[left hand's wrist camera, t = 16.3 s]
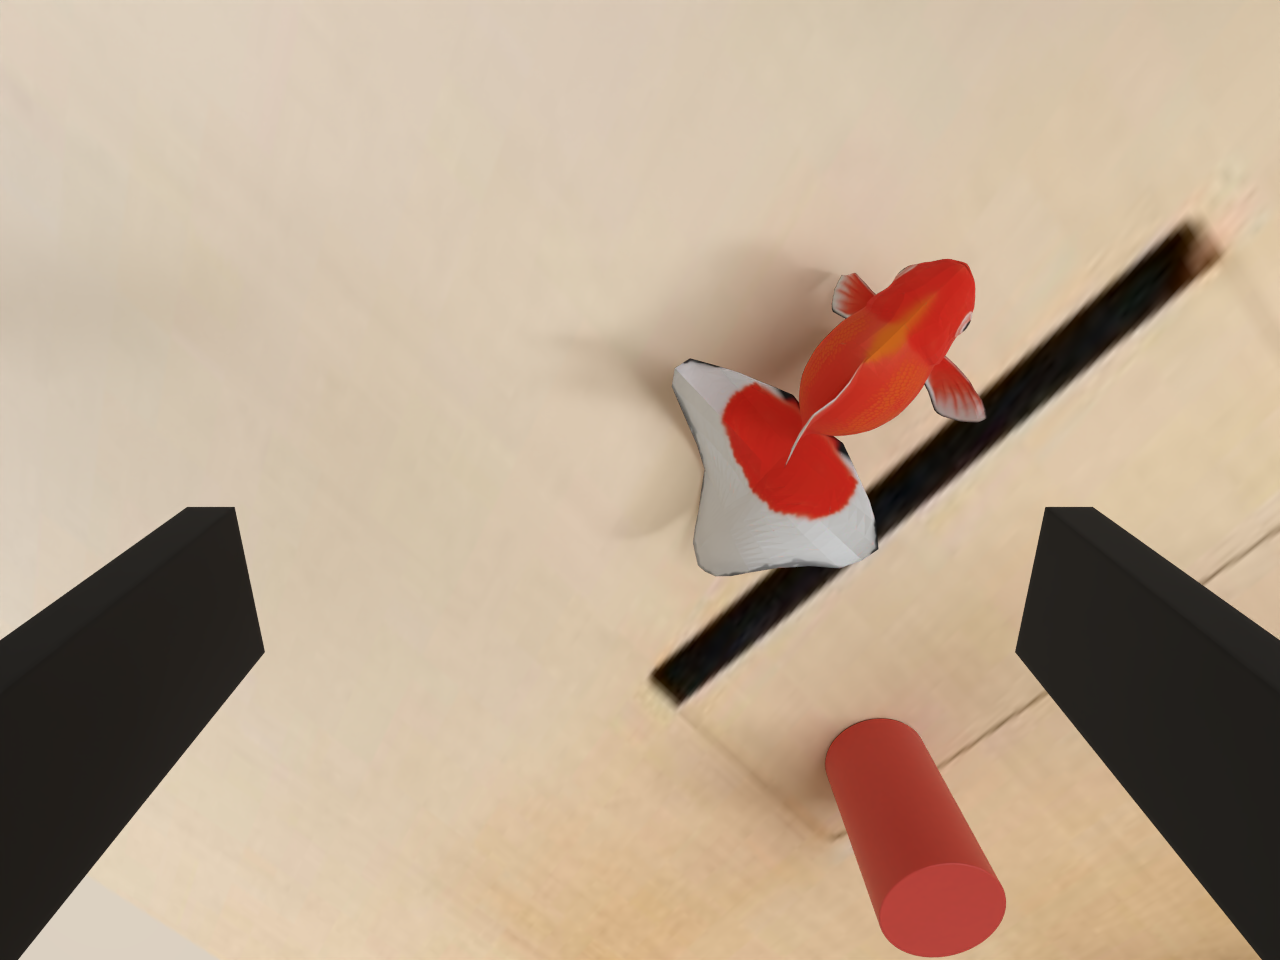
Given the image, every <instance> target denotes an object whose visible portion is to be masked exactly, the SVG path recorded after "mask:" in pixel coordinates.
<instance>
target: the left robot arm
mask: <svg viewBox="0 0 1280 960" xmlns="http://www.w3.org/2000/svg"><path fill="white" fill-rule="evenodd" d="M264 652H265V651H264V646H263V641H262V636H261V632H260V627H259V622H258V617H257V612H256V608H255V603H254V598H253V593H252V588H251V584H250V579H249V574H248V569H247V564H246V560H245V555H244V550H243V545H242V540H241V536H240V531H239V526H238V521H237V516H236V512H235V507H187V508H185V509H184V510H182V511H181V512H180V513H178V514H177V515H175V516H174V517H173V518H171V519H170V520H168V521H167V522H166V523H164V524H163V525H161V526H160V527H159V528H157V529H156V530H154V531H153V532H152V533H150V534H149V535H147V536H146V537H145V538H143V539H142V540H140V541H139V542H138V543H136V544H135V545H133V546H132V547H131V548H129V549H128V550H126V551H125V552H124V553H122V554H121V555H119V556H118V557H116V558H115V559H114V560H112V561H111V562H109V563H108V564H107V565H105V566H104V567H102V568H101V569H100V570H98V571H97V572H95V573H94V574H93V575H91V576H90V577H88V578H87V579H86V580H84V581H83V582H81V583H80V584H79V585H77V586H76V587H74V588H73V589H72V590H70V591H69V592H67V593H66V594H65V595H63V596H62V597H60V598H59V599H58V600H56V601H55V602H53V603H52V604H51V605H49V606H48V607H46V608H45V609H44V610H42V611H41V612H39V613H38V614H37V615H35V616H34V617H32V618H31V619H30V620H28V621H27V622H25V623H24V624H22V625H21V626H20V627H18V628H17V629H15V630H14V631H13V632H11V633H10V634H8V635H7V636H6V637H4V638H3V639H1V640H0V960H18V959H19V958H20V957H21V955H22V954H23V953H24V952H25V950H26V949H27V948H28V947H29V945H30V944H31V943H32V942H33V940H34V939H35V938H36V937H37V935H38V934H39V933H40V932H41V930H42V929H43V928H44V927H45V925H46V924H47V923H48V922H49V920H50V919H51V918H52V917H53V915H54V914H55V913H56V912H57V910H58V909H59V908H60V907H61V905H62V904H63V903H64V902H65V900H66V899H67V898H68V897H69V895H70V894H71V893H72V892H73V890H74V889H75V888H76V887H77V885H78V884H79V883H80V882H81V880H82V879H83V878H84V877H85V876H86V874H87V873H88V872H89V871H90V869H91V868H92V867H93V866H94V864H95V863H96V862H97V861H98V859H99V858H100V857H101V856H102V854H103V853H104V852H105V851H106V849H107V848H108V847H109V846H110V844H111V843H112V842H113V841H114V839H115V838H116V837H117V836H118V834H119V833H120V832H121V831H122V829H123V828H124V827H125V826H126V824H127V823H128V822H129V821H130V819H131V818H132V817H133V816H134V814H135V813H136V812H137V811H138V809H139V808H140V807H141V806H142V804H143V803H144V802H145V801H146V799H147V798H148V797H149V796H150V795H151V793H152V792H153V791H154V790H155V788H156V787H157V786H158V785H159V783H160V782H161V781H162V780H163V778H164V777H165V776H166V775H167V773H168V772H169V771H170V770H171V768H172V767H173V766H174V765H175V763H176V762H177V761H178V760H179V758H180V757H181V756H182V755H183V753H184V752H185V751H186V750H187V748H188V747H189V746H190V745H191V743H192V742H193V741H194V740H195V738H196V737H197V736H198V735H199V733H200V732H201V731H202V730H203V728H204V727H205V726H206V725H207V723H208V722H209V721H210V720H211V718H212V717H213V716H214V715H215V713H216V712H217V711H218V710H219V709H220V707H221V706H222V705H223V704H224V702H225V701H226V700H227V699H228V697H229V696H230V695H231V694H232V692H233V691H234V690H235V689H236V687H237V686H238V685H239V684H240V682H241V681H242V680H243V679H244V677H245V676H246V675H247V674H248V672H249V671H250V670H251V669H252V667H253V666H254V665H255V664H256V662H257V661H258V660H259V659H260V657H261V656H262V655H263V654H264ZM1015 652H1016V654H1017V655H1018V656H1019V657H1020V659H1021V660H1022V661H1023V662H1024V664H1025V665H1026V666H1027V667H1028V669H1029V670H1030V671H1031V672H1032V674H1033V675H1034V676H1035V677H1036V679H1037V680H1038V681H1039V682H1040V684H1041V685H1042V686H1043V687H1044V689H1045V690H1046V691H1047V692H1048V694H1049V695H1050V696H1051V697H1052V699H1053V700H1054V701H1055V702H1056V704H1057V705H1058V706H1059V707H1060V709H1061V710H1062V711H1063V712H1064V713H1065V715H1066V716H1067V717H1068V718H1069V720H1070V721H1071V722H1072V723H1073V725H1074V726H1075V727H1076V728H1077V730H1078V731H1079V732H1080V733H1081V735H1082V736H1083V737H1084V738H1085V740H1086V741H1087V742H1088V743H1089V745H1090V746H1091V747H1092V748H1093V750H1094V751H1095V752H1096V753H1097V755H1098V756H1099V757H1100V758H1101V760H1102V761H1103V762H1104V763H1105V765H1106V766H1107V767H1108V768H1109V770H1110V771H1111V772H1112V773H1113V775H1114V776H1115V777H1116V778H1117V780H1118V781H1119V782H1120V783H1121V785H1122V786H1123V787H1124V788H1125V790H1126V791H1127V792H1128V793H1129V795H1130V796H1131V797H1132V798H1133V800H1134V801H1135V802H1136V803H1137V804H1138V806H1139V807H1140V808H1141V809H1142V811H1143V812H1144V813H1145V814H1146V816H1147V817H1148V818H1149V819H1150V821H1151V822H1152V823H1153V824H1154V826H1155V827H1156V828H1157V829H1158V831H1159V832H1160V833H1161V834H1162V836H1163V837H1164V838H1165V839H1166V841H1167V842H1168V843H1169V844H1170V846H1171V847H1172V848H1173V849H1174V851H1175V852H1176V853H1177V854H1178V856H1179V857H1180V858H1181V859H1182V861H1183V862H1184V863H1185V864H1186V866H1187V867H1188V868H1189V869H1190V871H1191V872H1192V873H1193V874H1194V876H1195V877H1196V878H1197V879H1198V881H1199V882H1200V883H1201V884H1202V886H1203V887H1204V888H1205V889H1206V890H1207V892H1208V893H1209V894H1210V895H1211V897H1212V898H1213V899H1214V900H1215V902H1216V903H1217V904H1218V905H1219V907H1220V908H1221V909H1222V910H1223V912H1224V913H1225V914H1226V915H1227V917H1228V918H1229V919H1230V920H1231V922H1232V923H1233V924H1234V925H1235V927H1236V928H1237V929H1238V930H1239V932H1240V933H1241V934H1242V935H1243V937H1244V938H1245V939H1246V940H1247V942H1248V943H1249V944H1250V945H1251V947H1252V948H1253V949H1254V950H1255V952H1256V953H1257V954H1258V955H1259V957H1260V958H1261V959H1262V960H1280V640H1279V639H1277V638H1276V637H1274V636H1273V635H1272V634H1270V633H1269V632H1267V631H1266V630H1265V629H1263V628H1262V627H1260V626H1259V625H1258V624H1256V623H1255V622H1253V621H1252V620H1250V619H1249V618H1248V617H1246V616H1245V615H1243V614H1242V613H1241V612H1239V611H1238V610H1236V609H1235V608H1234V607H1232V606H1231V605H1229V604H1228V603H1227V602H1225V601H1224V600H1222V599H1221V598H1220V597H1218V596H1217V595H1215V594H1214V593H1213V592H1211V591H1210V590H1208V589H1207V588H1206V587H1204V586H1203V585H1201V584H1200V583H1199V582H1197V581H1196V580H1194V579H1193V578H1192V577H1190V576H1189V575H1187V574H1186V573H1185V572H1183V571H1182V570H1180V569H1179V568H1178V567H1176V566H1175V565H1173V564H1172V563H1171V562H1169V561H1168V560H1166V559H1165V558H1164V557H1162V556H1161V555H1159V554H1158V553H1156V552H1155V551H1154V550H1152V549H1151V548H1149V547H1148V546H1147V545H1145V544H1144V543H1142V542H1141V541H1140V540H1138V539H1137V538H1135V537H1134V536H1133V535H1131V534H1130V533H1128V532H1127V531H1126V530H1124V529H1123V528H1121V527H1120V526H1119V525H1117V524H1116V523H1114V522H1113V521H1112V520H1110V519H1109V518H1107V517H1106V516H1105V515H1103V514H1102V513H1100V512H1099V511H1098V510H1096V509H1095V508H1093V507H1045V512H1044V516H1043V521H1042V526H1041V531H1040V536H1039V540H1038V545H1037V550H1036V555H1035V560H1034V564H1033V569H1032V574H1031V579H1030V584H1029V588H1028V593H1027V598H1026V603H1025V608H1024V612H1023V617H1022V622H1021V627H1020V631H1019V636H1018V641H1017V646H1016V651H1015Z"/></svg>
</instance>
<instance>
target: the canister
mask: <svg viewBox="0 0 1280 960" xmlns="http://www.w3.org/2000/svg"><path fill="white" fill-rule="evenodd" d="M825 768H826V773H827V776H828V779H829V782H830V785H831V788H832V791H833V793H834V796H835V799H836V802H837V805H838V808H839V811H840V813H841V816H842V819H843V822H844V825H845V828H846V831H847V833H848V836H849V839H850V842H851V845H852V848H853V851H854V853H855V856H856V859H857V862H858V865H859V868H860V871H861V873H862V876H863V879H864V882H865V885H866V888H867V891H868V894H869V896H870V899H871V902H872V905H873V908H874V911H875V914H876V916H877V919H878V922H879V925H880V928H881V930H882V932H883V934H884V935H885V937H886V938H887V939H888V940H889V942H890V943H892V944H893V945H894V946H895V947H897V948H898V949H900V950H902V951H904V952H906V953H909V954H912V955H916V956H922V957H944V956H950V955H955V954H958V953H961V952H964V951H967V950H969V949H971V948H973V947H975V946H977V945H978V944H980V943H981V942H983V941H984V940H985V939H987V938H988V937H989V936H990V935H991V934H992V933H993V932H994V931H995V930H996V928H997V927H998V926H999V924H1000V922H1001V921H1002V919H1003V916H1004V913H1005V909H1006V897H1005V893H1004V889H1003V887H1002V885H1001V884H1000V882H999V880H998V878H997V876H996V875H995V873H994V871H993V869H992V867H991V865H990V864H989V862H988V860H987V858H986V856H985V854H984V853H983V851H982V849H981V847H980V845H979V844H978V842H977V840H976V838H975V836H974V834H973V833H972V831H971V829H970V827H969V825H968V823H967V822H966V820H965V818H964V816H963V814H962V812H961V811H960V809H959V807H958V805H957V803H956V802H955V800H954V798H953V796H952V794H951V792H950V791H949V789H948V787H947V785H946V783H945V781H944V780H943V778H942V776H941V774H940V772H939V771H938V769H937V767H936V765H935V763H934V761H933V760H932V758H931V756H930V754H929V752H928V750H927V749H926V747H925V745H924V743H923V741H922V739H921V738H920V736H919V735H918V734H917V733H916V732H915V731H914V730H913V729H912V728H911V727H909V726H908V725H906V724H904V723H902V722H899V721H896V720H891V719H871V720H866V721H862V722H860V723H857V724H855V725H853V726H851V727H849V728H847V729H846V730H844V731H843V732H842V733H841V734H840V735H839V736H838V737H837V738H836V739H835V740H834V741H833V743H832V744H831V746H830V748H829V750H828V752H827V756H826V761H825Z"/></svg>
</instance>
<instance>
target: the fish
mask: <svg viewBox="0 0 1280 960" xmlns="http://www.w3.org/2000/svg"><path fill="white" fill-rule="evenodd" d="M974 304H975V282H974V278H973V276H972V273H971V270H970V268H969V266H968V265H967V264H966V263H964V262H960V261H956V260H952V259H942V260H937V261H932V262H924V263H920V264H915V265H910V266H908V267H906V268H904V269H903V270H902V271H900V272H899V273H898V275H897V276H896V278H895V279H894V281H893V282H892V284H891V285H890V286H889V287H888V288H886V289H885V290H883V291H881V292H880V293H878V294H875V293H874V292H873V291H872V290H871V289H870V288H869V287H868V286H867V285H866V283H865V282H864V281H863V280H862V279H861V278H860V277H859V276H858V275H857V274H856V273H853V274H850V275H842V276H841V278H840V280H839V282H838V284H837V286H836V287H835V290H834V295H833V300H832V310H833V312H834V313H836V314H838V315H840V316H842V317H844V318H845V320H844V321H842V322H841V323H840V324H839V325H838V326H837V327H836V328H834V329H833V330H832V331H831V332H830V333H829V334H828V335H827V336H826V337H825V339H824V340H823V341H822V342H821V343H820V344H819V345H818V347H817V348H816V349H815V351H814V352H813V354H812V356H811V358H810V359H809V361H808V363H807V365H806V367H805V369H804V372H803V374H802V379H801V384H800V393H799V402H798V401H797V399H796V398H795V397H794V396H793V395H792V394H789V393H787V392H785V391H782V390H780V389H778V388H775V387H773V386H770V385H768V384H766V383H763V382H761V381H758V380H756V379H753V378H751V377H749V376H746V375H744V374H741V373H739V372H736V371H732V370H729V369H726V368H722V367H719V366H716V365H712V364H708V363H705V362H701V361H697V360H694V359H688V360H687V361H685V362H684V363H682V364H681V365H679V366H677V367H676V368H675V370H674V376H673V383H672V388H673V390H674V392H675V395H676V397H677V400H678V402H679V404H680V407H681V409H682V411H683V414H684V416H685V418H686V421H687V423H688V425H689V427H690V430H691V432H692V434H693V437H694V439H695V441H696V443H697V446H698V449H699V453H700V456H701V459H702V462H703V466H704V469H705V471H704V478H703V484H702V490H701V498H700V505H699V512H698V516H697V521H696V526H695V532H694V540H693V545H694V549H695V554H696V559H697V563H698V566H699V567H701V568H702V569H703V570H704V571H705V572H707V573H710V574H712V575H714V576H733V575H739V574H744V573H749V572H755V571H761V570H767V569H774V568H783V567H798V566H819V567H833V568H841V567H844V566H847V565H850V564H853V563H855V562H858V561H861V560H863V559H865V558H866V557H867V556H869V555H870V554H872V553H873V552H875V551H876V550H878V540H877V530H876V522H875V518H874V515H873V512H872V508H871V505H870V502H869V499H868V497H867V494H866V492H865V490H864V488H863V485H862V483H861V481H860V478H859V476H858V474H857V472H856V470H855V468H854V466H853V463H852V461H851V459H850V457H849V455H848V453H847V451H846V449H845V447H844V444H843V443H842V442H841V441H839V440H838V439H837V438H835V437H834V436H843V435H852V434H857V433H862V432H866V431H870V430H872V429H875V428H877V427H879V426H881V425H883V424H885V423H886V422H888V421H890V420H892V419H893V418H894V417H896V416H897V415H899V414H900V413H901V412H902V411H903V410H904V409H905V408H906V407H907V406H908V405H909V404H910V403H911V402H912V401H913V399H914V398H915V397H916V396H917V395H918V393H919V392H920V390H921V389H922V387H923V386H924V385H925V386H926V388H927V390H928V393H929V395H930V398H931V402H932V405H933V408H934V410H935V411H936V412H937V413H938V414H940V415H941V416H944V417H947V418H950V419H954V420H957V421H965V422H979V421H982V420H985V419H986V418H987V414H986V410H985V408H984V405H983V403H982V400H981V399H980V397H979V396H978V394H977V393H976V391H975V390H974V388H973V386H972V384H971V383H970V381H969V380H968V379H967V377H966V376H965V375H964V374H963V373H962V372H961V371H960V369H959V368H958V367H957V366H956V365H955V364H954V363H953V362H952V361H950V360H949V359H948V358H947V357H946V356H945V355H946V353H947V352H948V350H949V348H950V346H951V344H952V343H953V341H954V340H955V338H956V337H957V336H958V335H959V334H961V333H962V332H963V331H964V330H965V329H966V328H967V327H968V325H969V323H970V321H971V317H972V312H973V309H974Z"/></svg>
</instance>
